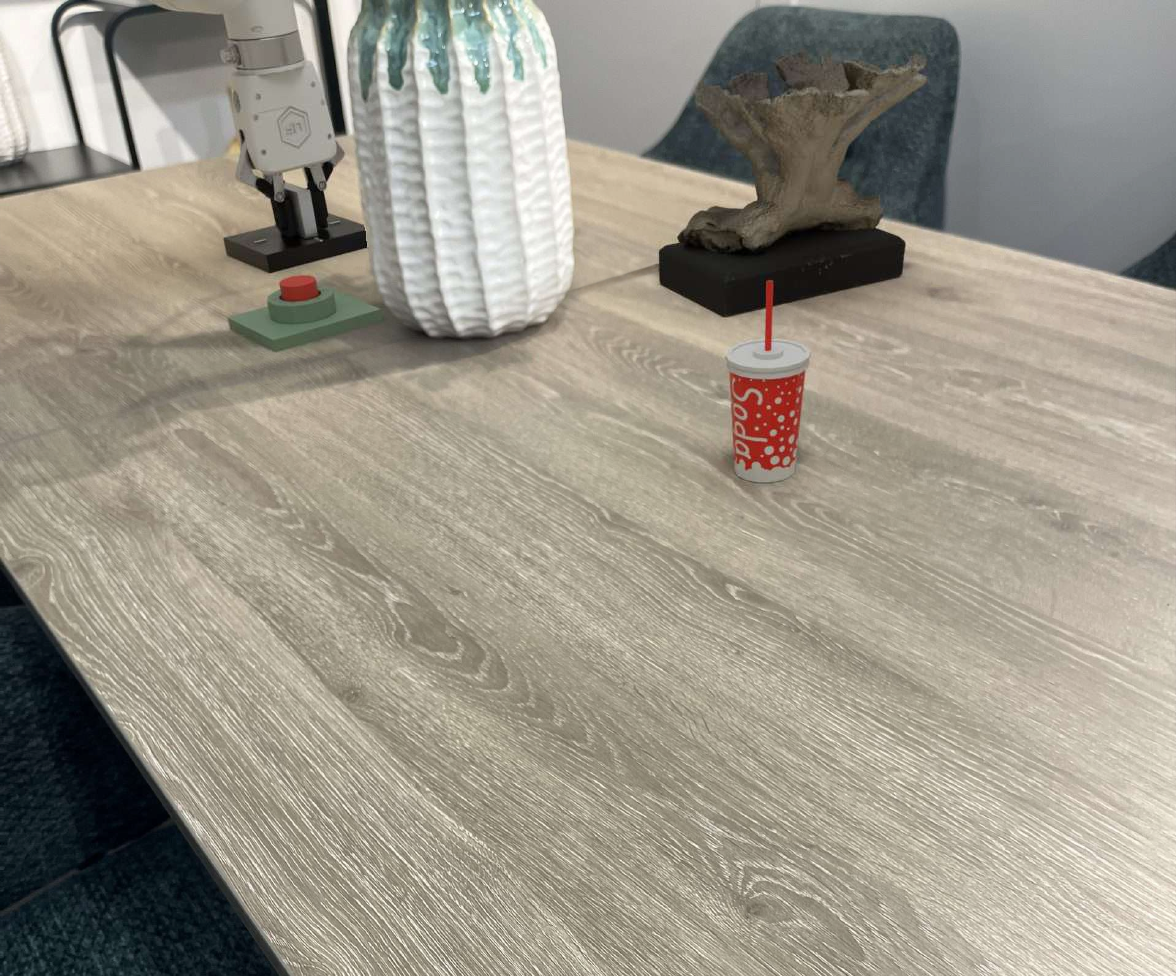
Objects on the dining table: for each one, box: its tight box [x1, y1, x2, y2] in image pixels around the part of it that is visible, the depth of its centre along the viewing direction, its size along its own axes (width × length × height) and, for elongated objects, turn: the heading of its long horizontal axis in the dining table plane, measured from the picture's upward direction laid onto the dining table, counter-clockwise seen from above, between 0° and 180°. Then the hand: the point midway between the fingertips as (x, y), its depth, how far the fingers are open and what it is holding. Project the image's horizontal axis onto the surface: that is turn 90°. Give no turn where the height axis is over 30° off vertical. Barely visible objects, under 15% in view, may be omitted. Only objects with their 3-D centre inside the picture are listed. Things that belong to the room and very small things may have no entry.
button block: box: [227, 284, 383, 353], centre depth 128 cm, size 12×10×4 cm
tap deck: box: [222, 212, 368, 274], centre depth 150 cm, size 14×11×3 cm
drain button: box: [278, 274, 319, 302], centre depth 126 cm, size 4×4×2 cm
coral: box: [658, 49, 928, 317], centre depth 126 cm, size 25×20×22 cm
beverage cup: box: [724, 280, 812, 484], centre depth 93 cm, size 6×6×14 cm
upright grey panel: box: [283, 179, 318, 239], centre depth 148 cm, size 7×2×5 cm, turn 38°
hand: (304, 229), depth 149 cm, fingers open, 3 cm apart
